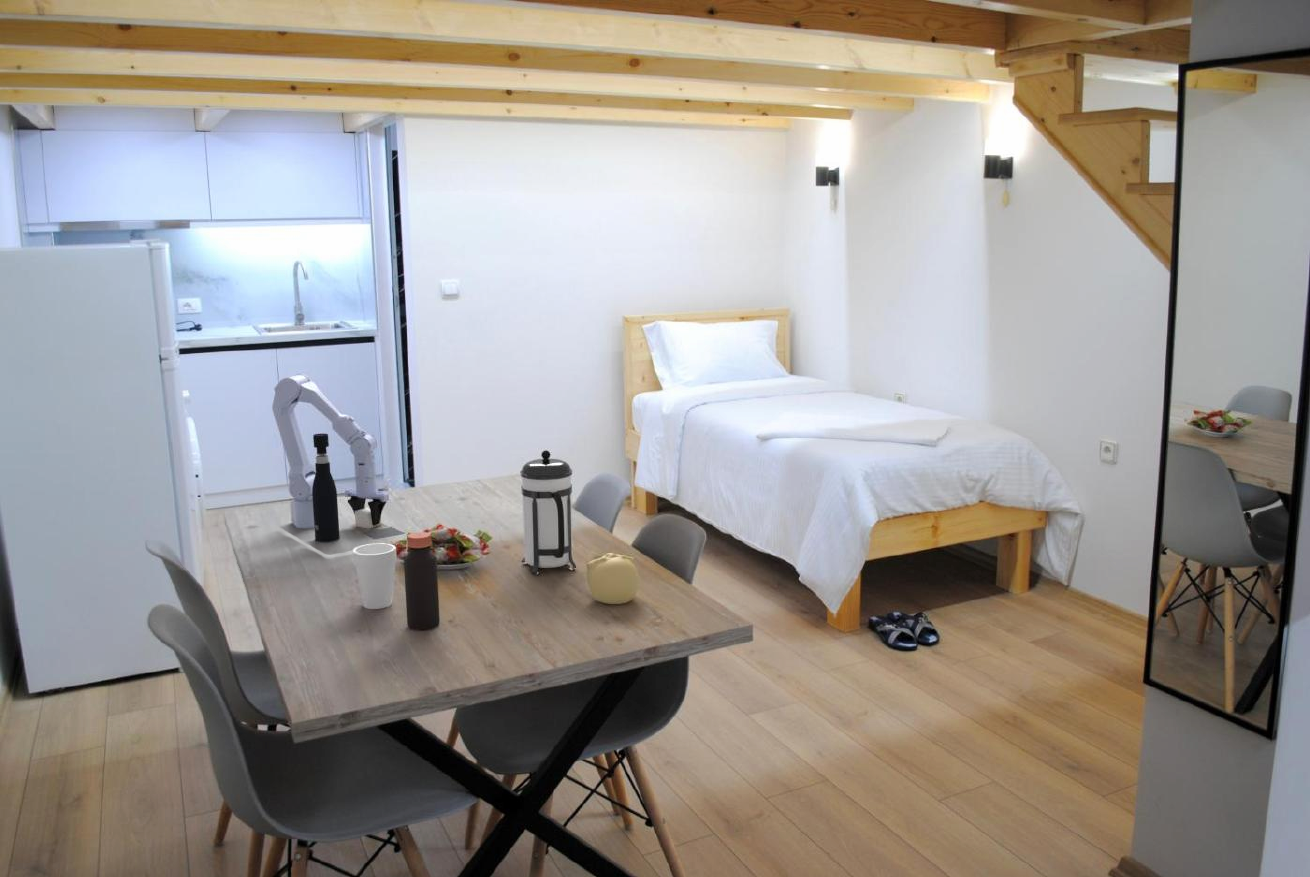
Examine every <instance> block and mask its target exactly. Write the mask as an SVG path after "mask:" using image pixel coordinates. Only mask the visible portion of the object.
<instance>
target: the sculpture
mask: <svg viewBox="0 0 1310 877" xmlns="http://www.w3.org/2000/svg"><path fill="white" fill-rule="evenodd" d="M634 561H635V558H634V557H632V556H628V555H625V554H623V555H621V554H616V553H613V552H607V553H605V554H603V555H602V556H600V557H598V558H596V559H593V560H591V561H589V562H587V564H586V570H587V571H586V577H587V579H586V580H587V585H588V587H589V592H590V593H591V595H592V597H593V599H594V600H596V601H597V602H599V603H603V604H609V605H623V604H626V603H628V601H629V602H631V601H632V600H633V599H634V598H636V596H637V594H638V592H639V589H640V575H639V572H638V569H637V568H636V566H635V565H634ZM622 603H623V604H622Z"/></svg>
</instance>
